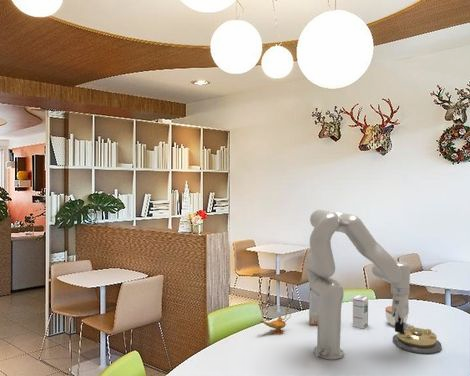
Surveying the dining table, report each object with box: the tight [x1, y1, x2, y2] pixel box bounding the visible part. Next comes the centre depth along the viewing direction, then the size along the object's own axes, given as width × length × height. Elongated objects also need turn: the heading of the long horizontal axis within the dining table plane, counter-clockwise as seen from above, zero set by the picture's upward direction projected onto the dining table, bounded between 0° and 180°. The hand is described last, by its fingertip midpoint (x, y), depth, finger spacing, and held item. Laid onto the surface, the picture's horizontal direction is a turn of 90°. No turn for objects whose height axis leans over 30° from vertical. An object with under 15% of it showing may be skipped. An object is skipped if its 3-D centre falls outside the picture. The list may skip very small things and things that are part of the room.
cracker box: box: [308, 283, 320, 326], centre depth 219 cm, size 14×6×21 cm, turn 84°
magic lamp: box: [259, 306, 292, 335], centre depth 208 cm, size 7×18×11 cm, turn 122°
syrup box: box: [352, 295, 369, 330], centre depth 217 cm, size 6×6×14 cm
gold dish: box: [397, 322, 438, 348], centre depth 195 cm, size 16×16×8 cm
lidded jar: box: [385, 305, 409, 327], centre depth 220 cm, size 11×11×9 cm
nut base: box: [392, 333, 442, 355], centre depth 196 cm, size 20×20×2 cm
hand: (399, 331), depth 193 cm, fingers closed
